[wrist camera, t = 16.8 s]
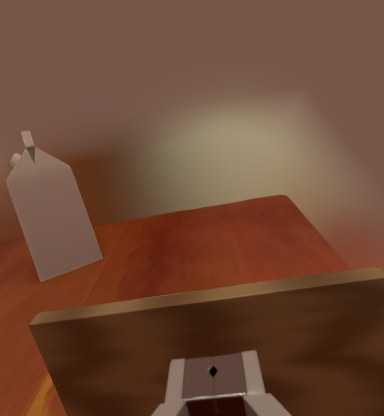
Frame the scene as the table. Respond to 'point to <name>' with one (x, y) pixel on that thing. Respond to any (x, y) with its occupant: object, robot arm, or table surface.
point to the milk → (51, 212)
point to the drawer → (226, 344)
